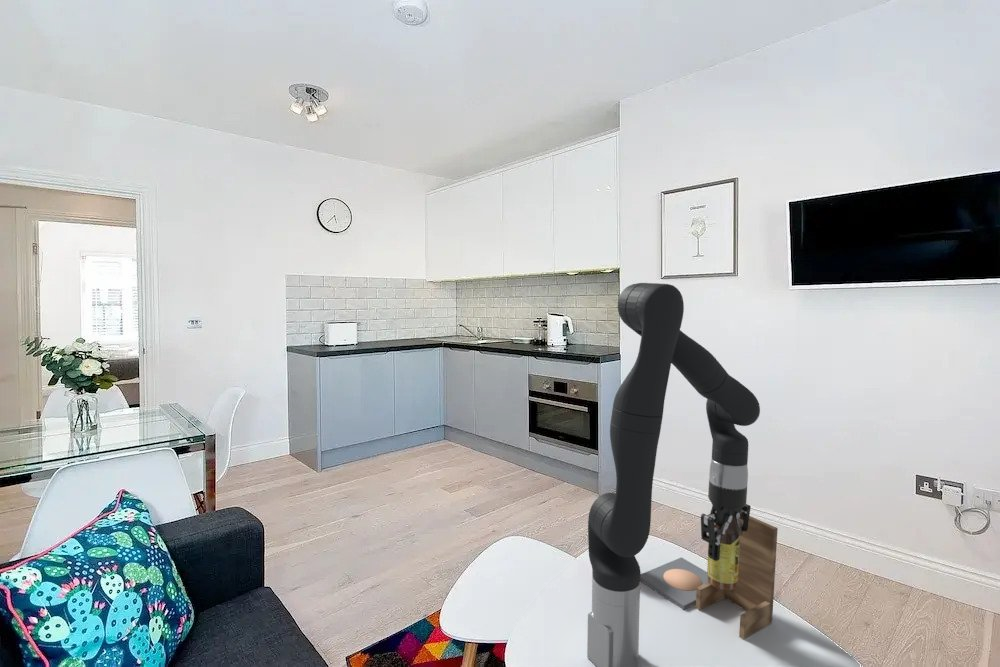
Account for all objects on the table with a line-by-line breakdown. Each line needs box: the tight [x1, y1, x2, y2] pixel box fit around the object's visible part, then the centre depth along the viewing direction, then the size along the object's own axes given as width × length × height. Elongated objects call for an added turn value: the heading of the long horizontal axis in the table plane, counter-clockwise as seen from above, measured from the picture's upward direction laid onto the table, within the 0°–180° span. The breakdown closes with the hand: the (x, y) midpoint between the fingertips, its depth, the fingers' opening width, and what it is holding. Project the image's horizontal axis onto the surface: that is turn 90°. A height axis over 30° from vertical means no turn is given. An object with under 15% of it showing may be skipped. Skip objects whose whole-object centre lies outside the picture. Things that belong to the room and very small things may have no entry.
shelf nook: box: [695, 515, 779, 640], centre depth 113 cm, size 10×12×22 cm
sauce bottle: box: [706, 508, 740, 591], centre depth 110 cm, size 6×6×20 cm
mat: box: [640, 557, 708, 610], centre depth 126 cm, size 16×14×1 cm
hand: (723, 554), depth 111 cm, fingers closed on sauce bottle, 6 cm apart
